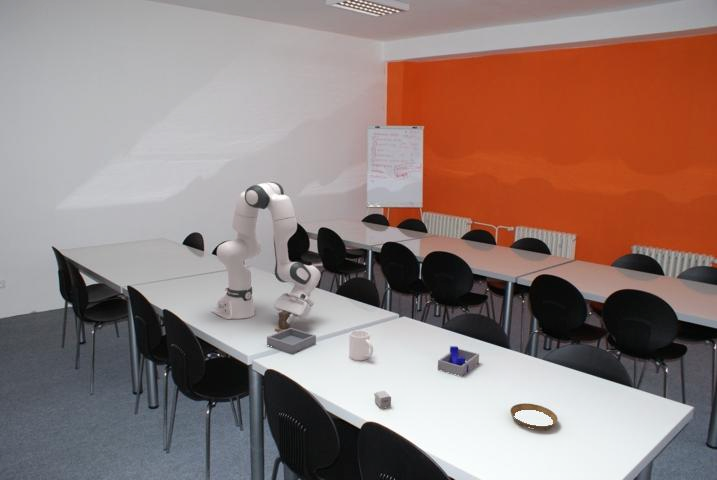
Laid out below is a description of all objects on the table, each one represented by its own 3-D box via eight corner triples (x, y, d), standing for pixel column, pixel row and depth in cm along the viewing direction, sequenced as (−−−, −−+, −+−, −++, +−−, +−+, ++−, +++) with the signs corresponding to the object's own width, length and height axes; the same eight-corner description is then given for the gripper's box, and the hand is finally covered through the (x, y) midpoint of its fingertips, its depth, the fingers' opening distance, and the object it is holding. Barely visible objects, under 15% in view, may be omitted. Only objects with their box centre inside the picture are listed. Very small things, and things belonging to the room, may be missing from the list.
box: (267, 345, 233) (266, 336, 232) (290, 336, 245) (290, 327, 244) (292, 354, 224) (292, 345, 224) (315, 343, 237) (315, 335, 236)
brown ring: (546, 410, 183) (547, 403, 183) (564, 433, 169) (565, 426, 168) (504, 410, 183) (504, 403, 182) (517, 433, 168) (518, 425, 168)
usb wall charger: (380, 408, 181) (380, 397, 180) (371, 399, 187) (372, 389, 187) (390, 406, 183) (391, 395, 182) (381, 397, 189) (382, 387, 188)
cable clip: (467, 372, 211) (469, 358, 210) (456, 372, 211) (457, 358, 210) (459, 360, 223) (460, 346, 222) (449, 359, 222) (450, 346, 221)
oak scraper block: (274, 331, 251) (274, 312, 249) (283, 327, 256) (283, 309, 254) (284, 334, 247) (284, 315, 246) (293, 330, 252) (293, 312, 250)
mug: (379, 360, 221) (380, 336, 219) (364, 365, 215) (365, 341, 213) (359, 351, 229) (360, 328, 227) (345, 356, 224) (345, 333, 222)
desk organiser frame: (437, 369, 213) (438, 360, 212) (455, 356, 226) (456, 347, 226) (461, 376, 207) (461, 367, 206) (478, 363, 221) (479, 354, 220)
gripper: (280, 288, 260) (264, 312, 255) (310, 297, 247) (294, 322, 242) (287, 295, 264) (272, 319, 259) (316, 304, 251) (301, 329, 246)
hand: (282, 321), depth 250 cm, fingers closed on oak scraper block, 4 cm apart
